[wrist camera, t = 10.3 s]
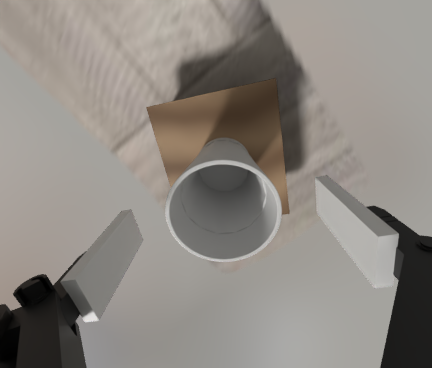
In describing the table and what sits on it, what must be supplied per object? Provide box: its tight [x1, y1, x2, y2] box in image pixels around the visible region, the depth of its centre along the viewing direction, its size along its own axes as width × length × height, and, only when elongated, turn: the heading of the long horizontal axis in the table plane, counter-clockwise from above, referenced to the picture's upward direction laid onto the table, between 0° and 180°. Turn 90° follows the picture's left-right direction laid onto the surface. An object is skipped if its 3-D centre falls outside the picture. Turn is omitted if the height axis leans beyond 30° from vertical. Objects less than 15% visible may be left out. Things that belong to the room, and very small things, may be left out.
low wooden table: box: [146, 78, 289, 215], centre depth 29 cm, size 16×14×6 cm
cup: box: [165, 138, 282, 262], centre depth 21 cm, size 8×8×12 cm
